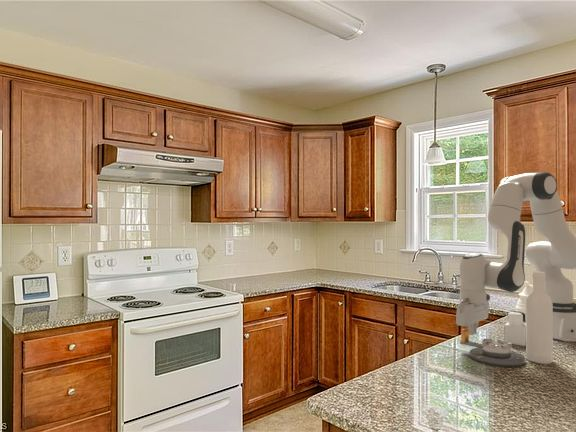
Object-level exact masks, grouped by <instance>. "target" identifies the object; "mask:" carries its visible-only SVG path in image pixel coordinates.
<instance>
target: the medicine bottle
mask: <svg viewBox="0 0 576 432" xmlns="http://www.w3.org/2000/svg"><path fill="white" fill-rule="evenodd" d="M503 331H504V333H503V334H504V338H503V340H504V343H506V344H507V342H511V344H512V345H514V346H520V347H526V321H525V314H524V313H522V312H518V311H516V310H511V311H508V312H507V323H505V324H504V329H503Z"/></svg>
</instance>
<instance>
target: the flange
mask: <svg viewBox="0 0 576 432" xmlns="http://www.w3.org/2000/svg"><path fill="white" fill-rule="evenodd" d="M469 358H470V359H471V360H473V361H475V362H477V363H480V364H483V365H487V366H491V367H500V368H518V367H522V366H524V365H525V364H526V358H525V356H524V355H523V354H522V353H519V352H516V351H513V350H511V357H508V358H498V357H491V356H488V355H485V354H483V353H482V348H477V347H474V348H472V349H470V350H469Z"/></svg>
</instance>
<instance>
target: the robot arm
mask: <svg viewBox="0 0 576 432" xmlns="http://www.w3.org/2000/svg"><path fill="white" fill-rule="evenodd" d="M557 189H558V182H557V178H555V176H554V175H553V174H551V173H550V172H546V171H545V172H544V171H539V172H525V173H522V174H516V175H509V176H506V177H504V178H502V179H501V180H500V183H499V185H498V186H497V188H496V190H495V192H494V194H493V196H492V198H491V202H490V205H489V210H488V214H487V221H488V223H489V225H490V227H492V229H494V230H495V231H496V232H499V233H501V234H503V235H504V236H505V237H506V238H507V254H506V261H505V262H495V261H491V260H490V259H487V258H486V257H485V256H484V255H483V254H482V253H480V252H473V253H465V254H464V255H463V256H462V257H461V259H460V265H459V279H460V284H459V285H460V286H459V301H460V302H459V304H457V306H456V314H455V315H456V316H455V318H456V319H455V323H456V325H457V326H460V327H467V329H468V330H469V336H475V335H476V334H477V333H478V332H477V330H478V327H479V322H481V321H484V320H486V319H488V318H489V313H490V302H489V301H490V300H491V295H490V294H489V293H487V292H486V291H487V290H486V287H487V288H492V289H497V290H501V291H504V292H509V293H515V292H517V291H518V290H520V289H521V288H522V287H523V285H524V281H525V280H526V276H525V275H526V274H525V265H524V264H525V257H526V259H527V261H528V262H529V263H530V264H531V265H532V266H533V267H534V269H535V270H536V272H545V276H546V278H545V293H546V294H547V295H548V296H549V297H550V298H551V301H552V304H553V340H554V339H555V340H559V341H563V342H576V302H574V285H573V283H572V281H571V280H570V279H569V278H567V277H566V276H565V275H564V274H563V272H562V270H564V269H565V270H576V236H575V235H574V234H573V232H572V231H571V230H570V228H569V226H568V224H567V220H566V216H565V214H564V209H563V204H562V202H561V198H560V195H559V193H558V191H557ZM524 202H529V206H530V207H529V208H530V211H531V217H532V220H533V223H534V228H535V230H536V232H537V233H538V234H540V235H542V236H543V237H544V238H545V239H547V240H538V241H534V242H530V243H529V244H528V245H527V247H526V227H525V225H524V224H523V223H522V221H521V214H522V209H523V203H524Z"/></svg>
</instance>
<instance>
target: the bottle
mask: <svg viewBox="0 0 576 432" xmlns="http://www.w3.org/2000/svg"><path fill="white" fill-rule="evenodd" d="M545 278H546V276H545V272H537V271H532V285H533V293H531V294H530V295H529V296H528V298H527V301H526V321H525V324H526V345H525V347H526V348H525V355H526V358H525V359H526V360H527V361H529V362H532V363H535V364H540V365H541V364H543V365H544V364H545V365H547V364H548V365H550V364H552V363H553V362H554V338H553V304H552V301H551V298H550V297H549V296H548V295H547V294H546V293H545Z"/></svg>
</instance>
